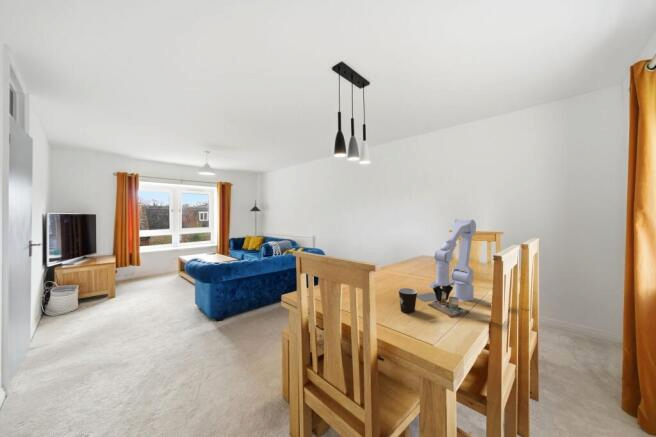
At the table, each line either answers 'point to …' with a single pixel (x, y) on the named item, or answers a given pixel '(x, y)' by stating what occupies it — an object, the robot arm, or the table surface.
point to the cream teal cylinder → (453, 303)
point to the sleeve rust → (442, 299)
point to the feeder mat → (427, 297)
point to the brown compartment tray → (447, 309)
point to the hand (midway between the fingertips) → (442, 300)
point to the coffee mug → (407, 300)
